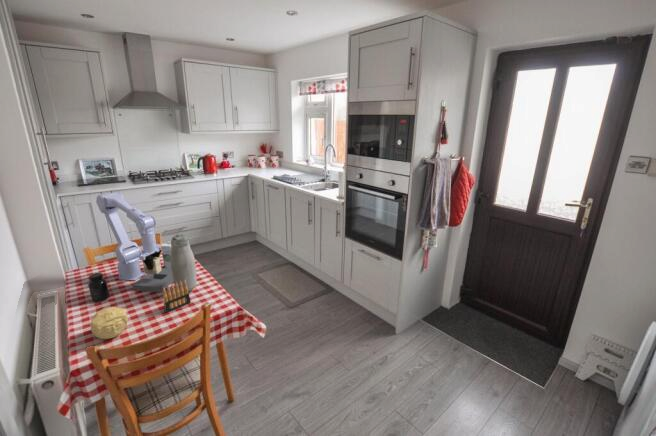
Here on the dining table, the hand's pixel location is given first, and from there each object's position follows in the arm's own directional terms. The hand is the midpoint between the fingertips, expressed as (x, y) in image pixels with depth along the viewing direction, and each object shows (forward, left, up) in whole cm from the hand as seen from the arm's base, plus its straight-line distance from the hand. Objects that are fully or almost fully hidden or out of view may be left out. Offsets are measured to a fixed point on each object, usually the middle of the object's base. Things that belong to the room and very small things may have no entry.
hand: (153, 267), depth 156 cm
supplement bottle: (-16, -16, -10) cm, 25 cm away
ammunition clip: (+22, -17, -10) cm, 29 cm away
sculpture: (+7, -37, -10) cm, 38 cm away
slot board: (0, +2, -9) cm, 10 cm away
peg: (0, 0, -3) cm, 3 cm away
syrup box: (-2, +17, -10) cm, 20 cm away
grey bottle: (+18, -3, -10) cm, 20 cm away
